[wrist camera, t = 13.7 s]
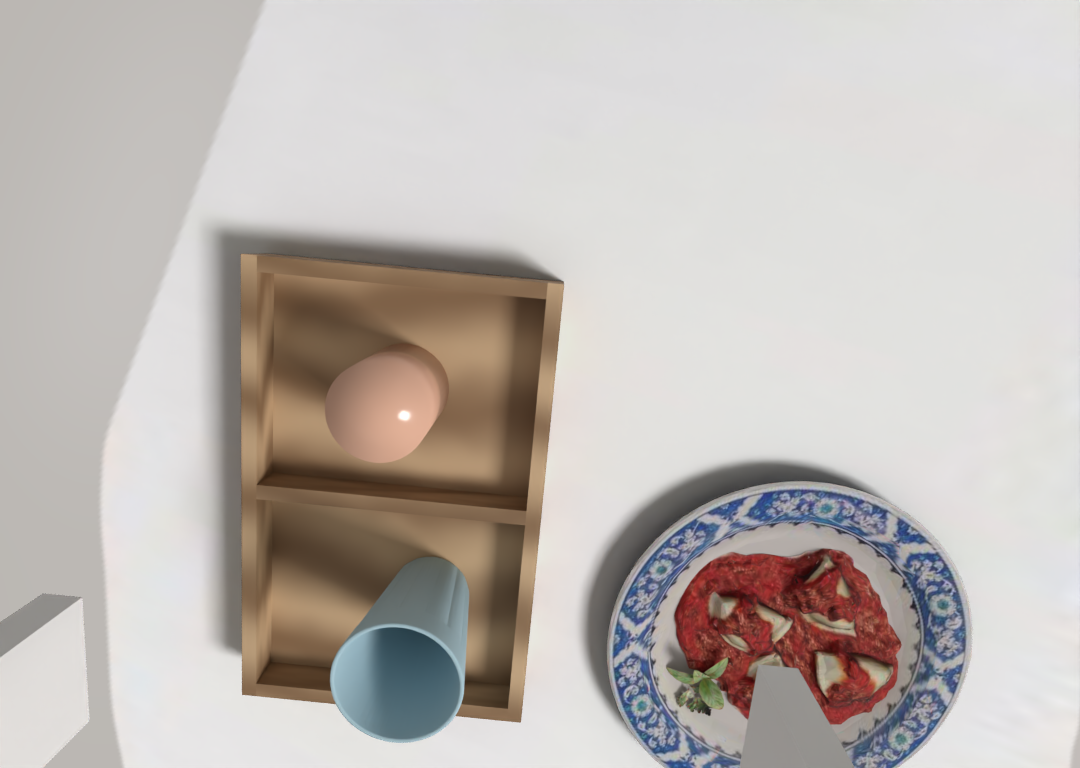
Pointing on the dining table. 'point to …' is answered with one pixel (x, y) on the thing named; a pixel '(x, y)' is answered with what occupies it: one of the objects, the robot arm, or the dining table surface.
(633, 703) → the ceramic plate
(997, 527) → the dining table surface
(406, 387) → the tan rounded piece
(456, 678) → the cup
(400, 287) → the divided wooden tray
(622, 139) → the dining table surface
